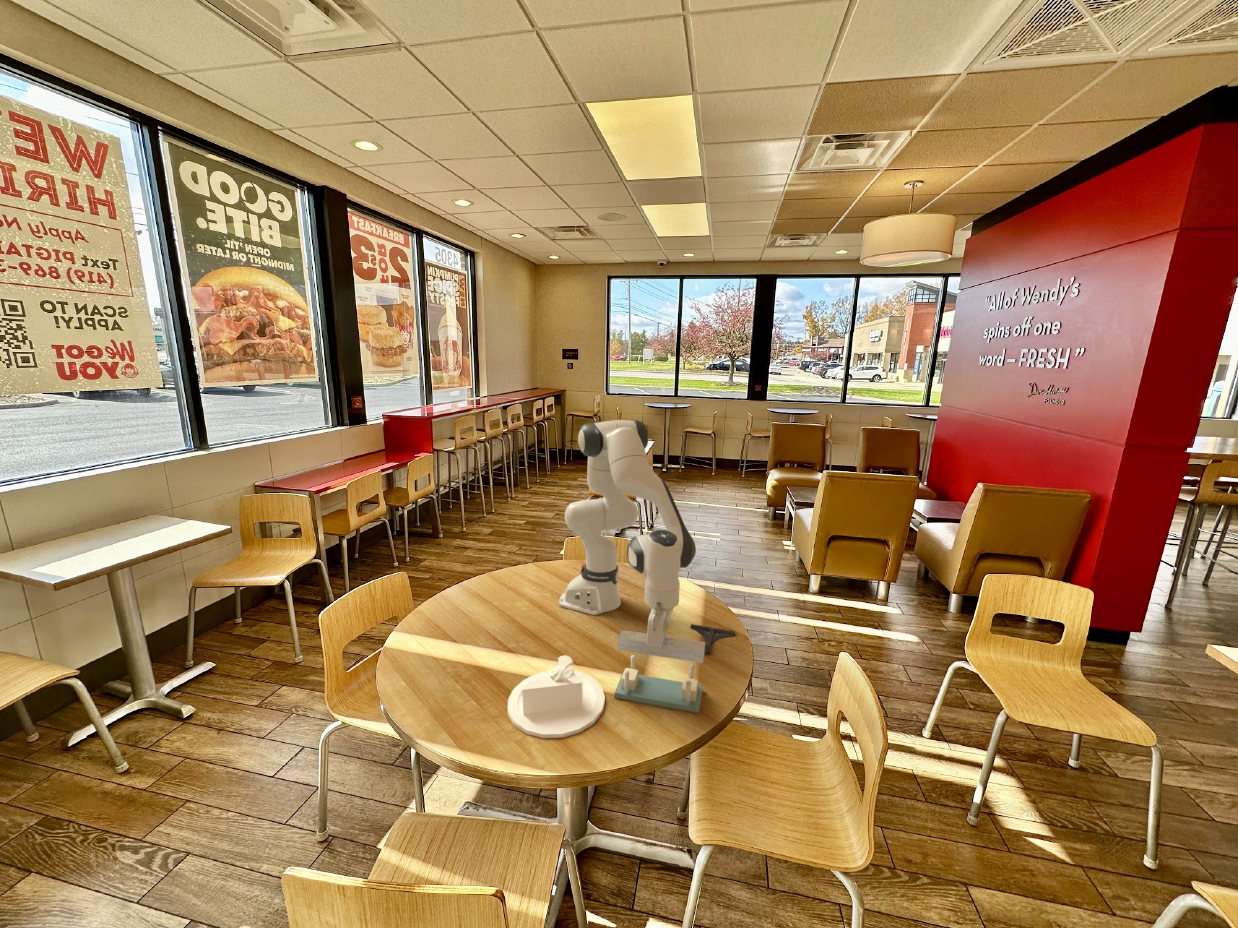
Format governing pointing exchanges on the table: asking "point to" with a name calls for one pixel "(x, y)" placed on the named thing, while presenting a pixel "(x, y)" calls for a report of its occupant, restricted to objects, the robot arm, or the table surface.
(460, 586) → the table surface
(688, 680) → the rack
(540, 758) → the table surface
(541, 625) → the table surface
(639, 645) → the long grey flat plank
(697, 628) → the bracket
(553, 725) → the dish
